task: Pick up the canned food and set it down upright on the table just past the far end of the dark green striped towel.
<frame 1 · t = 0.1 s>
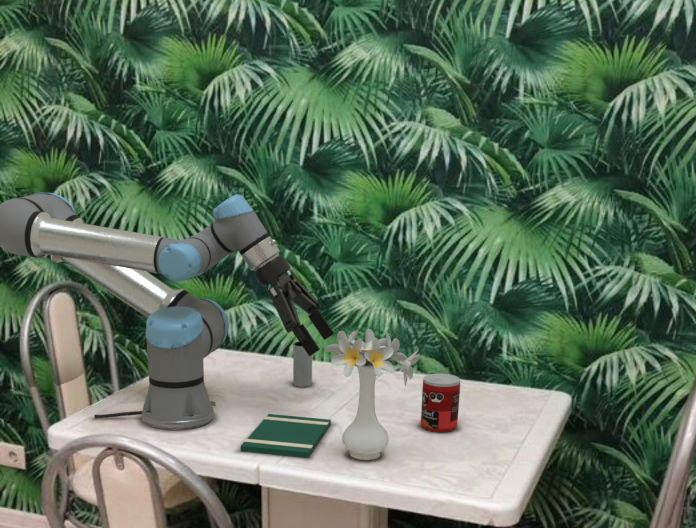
hand: (322, 344, 210), 15 cm above the table, tool tilted 35°, fingers open, 13 cm apart
canned food: (438, 427, 208), on the table
grey cylinder: (302, 385, 233), on the table
towel: (287, 437, 199), on the table
flower vase: (368, 455, 192), on the table
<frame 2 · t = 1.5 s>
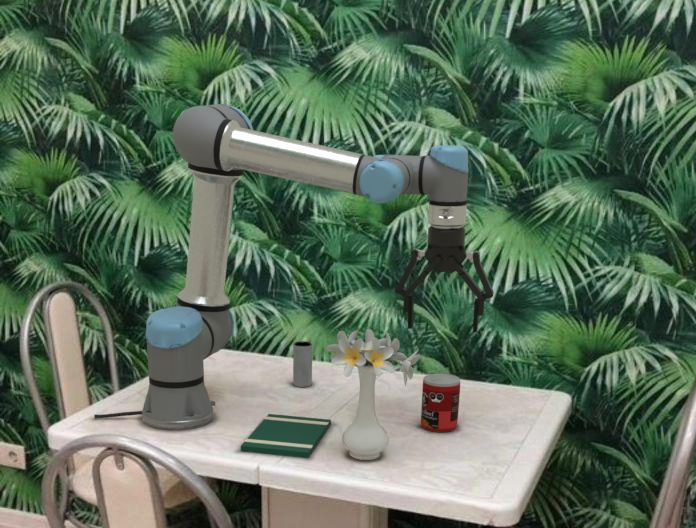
hand: (442, 329, 200), 22 cm above the table, tool pointing down, fingers open, 13 cm apart
nothing on the table moved.
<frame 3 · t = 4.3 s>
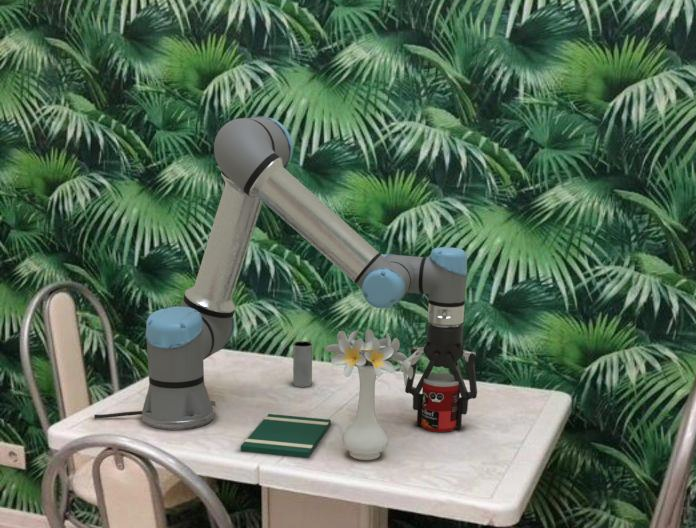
hand: (439, 425, 208), 0 cm above the table, tool pointing down, fingers closed on canned food, 8 cm apart
canned food: (438, 427, 208), on the table, touching gripper
everything else where it was.
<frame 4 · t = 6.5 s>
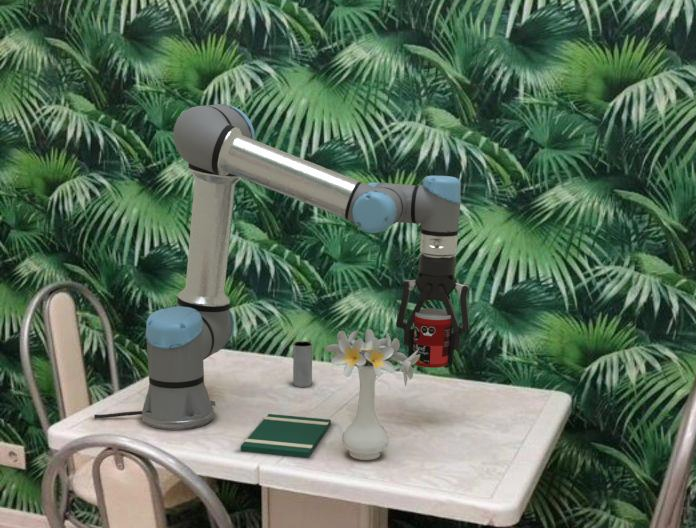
hand: (430, 361, 203), 14 cm above the table, tool pointing down, fingers closed on canned food, 8 cm apart
canned food: (430, 363, 203), point 14 cm above the table, touching gripper
everything else where it was.
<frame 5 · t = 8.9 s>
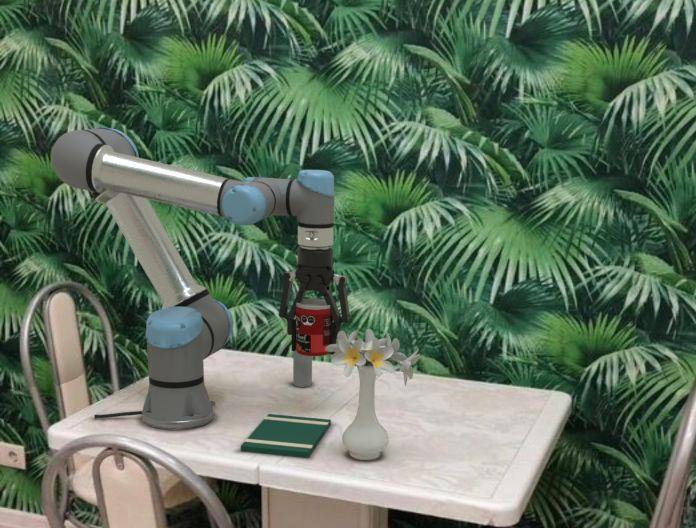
hand: (313, 351, 209), 14 cm above the table, tool pointing down, fingers closed on canned food, 8 cm apart
canned food: (313, 352, 209), point 14 cm above the table, touching gripper
everything else where it was.
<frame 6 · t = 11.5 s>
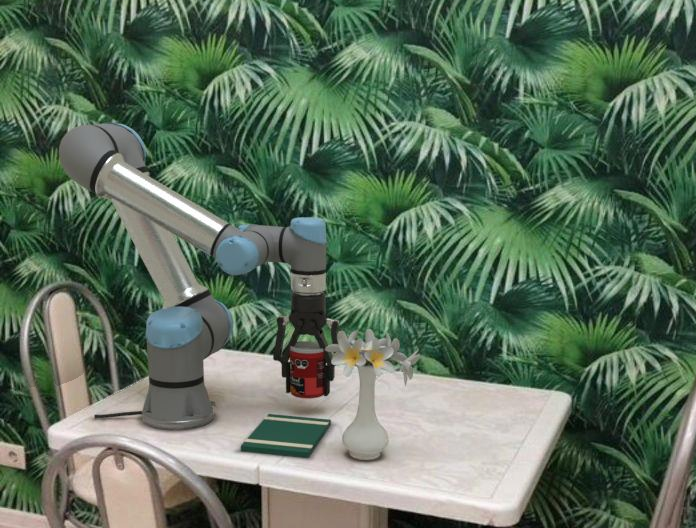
hand: (307, 392, 213), 4 cm above the table, tool pointing down, fingers closed on canned food, 8 cm apart
canned food: (307, 394, 213), point 4 cm above the table, touching gripper
everything else where it was.
when the fingers open (0 cm above the table, at t = 13.3 s): canned food stays where it is, on the table.
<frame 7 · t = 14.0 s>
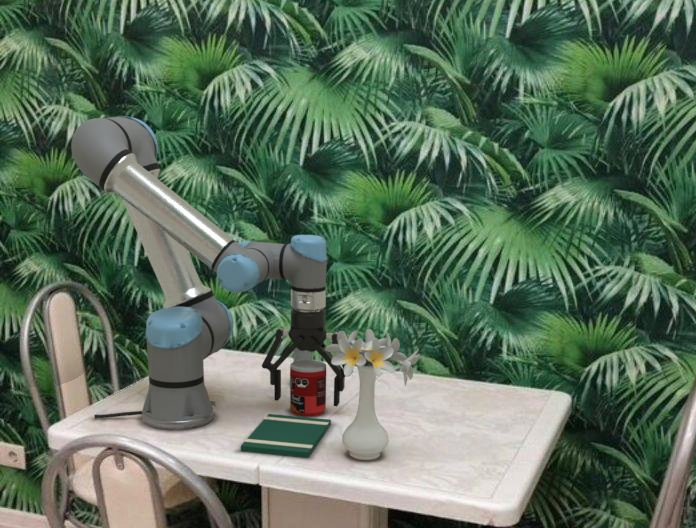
hand: (306, 401, 214), 2 cm above the table, tool pointing down, fingers open, 13 cm apart
canned food: (307, 412, 215), on the table
everything else where it was.
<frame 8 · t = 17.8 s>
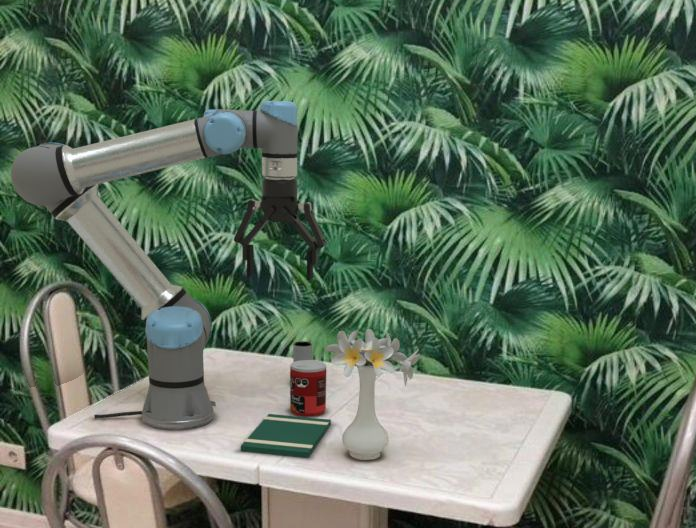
hand: (279, 277, 211), 29 cm above the table, tool pointing down, fingers open, 13 cm apart
nothing on the table moved.
at the end: canned food inside the target area on the table beside the towel (0.1 cm from its centre), on the table; canned food tilted 0°; the gripper is holding nothing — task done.
